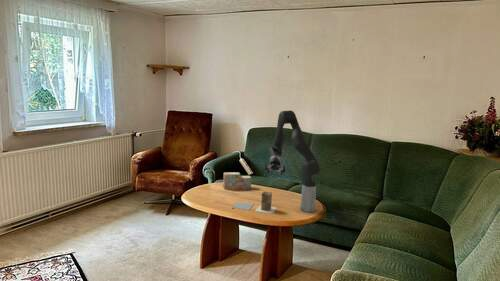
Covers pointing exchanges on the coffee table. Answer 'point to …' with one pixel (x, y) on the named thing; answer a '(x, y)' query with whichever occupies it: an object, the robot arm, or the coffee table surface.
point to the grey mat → (242, 206)
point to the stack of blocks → (236, 181)
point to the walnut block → (266, 201)
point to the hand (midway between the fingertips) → (275, 173)
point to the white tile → (265, 210)
